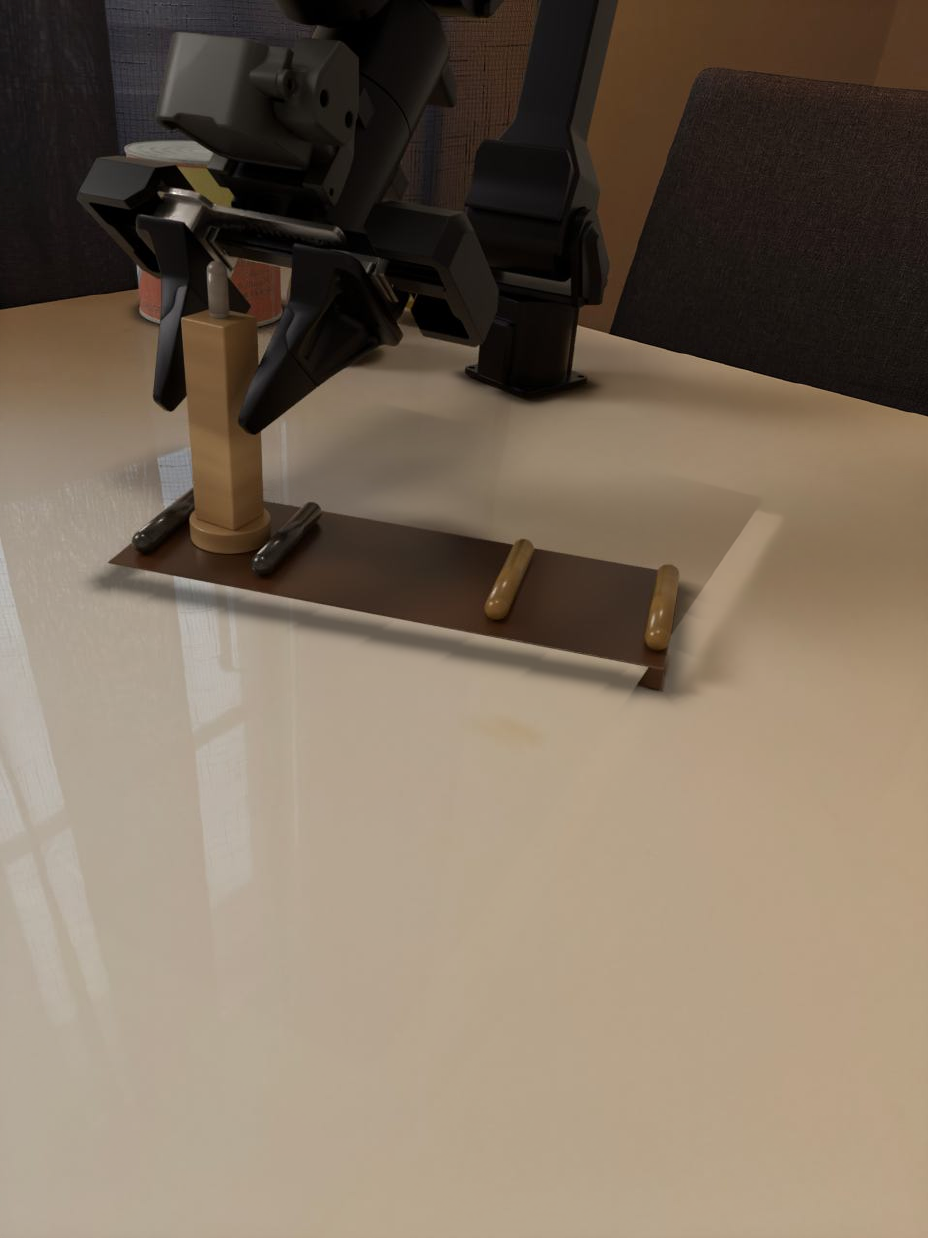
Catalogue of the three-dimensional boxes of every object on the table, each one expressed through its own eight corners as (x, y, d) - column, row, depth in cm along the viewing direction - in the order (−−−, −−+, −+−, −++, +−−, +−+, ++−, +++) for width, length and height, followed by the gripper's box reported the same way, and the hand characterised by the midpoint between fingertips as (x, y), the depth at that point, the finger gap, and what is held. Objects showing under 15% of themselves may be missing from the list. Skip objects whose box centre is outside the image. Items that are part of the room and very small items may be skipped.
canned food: (141, 293, 86) (127, 137, 80) (276, 294, 88) (272, 143, 82) (137, 330, 76) (121, 157, 70) (288, 330, 79) (285, 164, 73)
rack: (109, 582, 44) (104, 541, 43) (198, 506, 51) (196, 469, 50) (660, 690, 40) (669, 647, 39) (675, 591, 47) (683, 553, 46)
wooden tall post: (225, 512, 49) (210, 246, 42) (286, 532, 47) (280, 260, 41) (173, 540, 46) (149, 260, 39) (238, 562, 44) (223, 275, 38)
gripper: (81, -63, 41) (-102, 261, 38) (492, -37, 34) (307, 359, 32) (218, 138, 51) (81, 406, 49) (556, 188, 45) (420, 503, 42)
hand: (202, 417), depth 42 cm, fingers open, 4 cm apart
